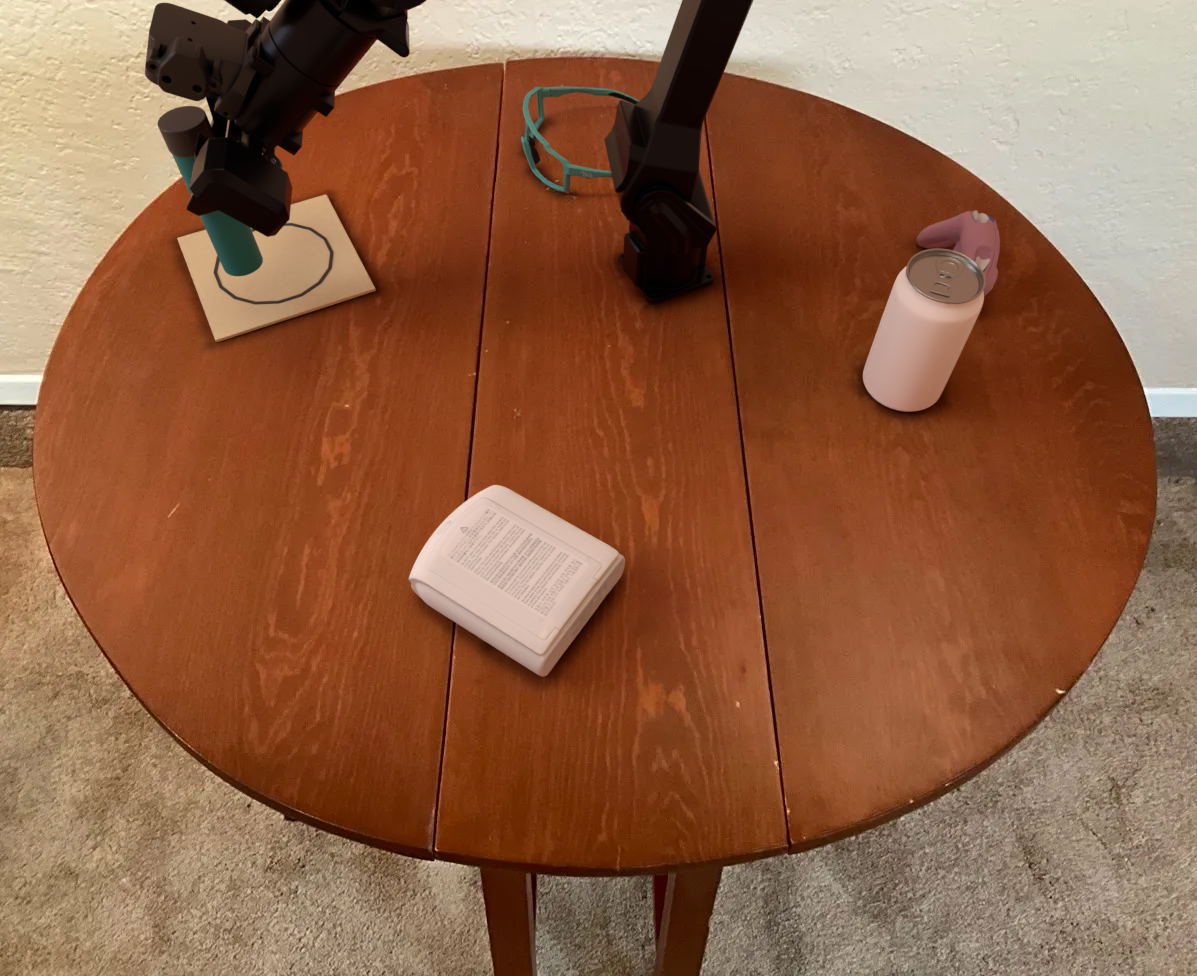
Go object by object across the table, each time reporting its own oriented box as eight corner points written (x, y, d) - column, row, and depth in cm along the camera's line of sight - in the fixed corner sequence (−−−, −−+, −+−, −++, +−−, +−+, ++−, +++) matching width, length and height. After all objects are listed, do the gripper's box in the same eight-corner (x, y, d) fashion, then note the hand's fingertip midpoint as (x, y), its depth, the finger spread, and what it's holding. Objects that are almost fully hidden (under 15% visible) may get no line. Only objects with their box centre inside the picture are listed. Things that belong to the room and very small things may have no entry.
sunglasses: (506, 119, 98) (508, 73, 94) (646, 112, 102) (653, 68, 98) (534, 207, 91) (537, 162, 87) (684, 197, 94) (694, 153, 90)
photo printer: (626, 575, 69) (486, 497, 72) (628, 543, 65) (481, 463, 69) (544, 689, 64) (398, 599, 67) (541, 662, 60) (388, 568, 64)
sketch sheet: (326, 196, 91) (326, 193, 91) (375, 290, 84) (375, 287, 84) (178, 240, 88) (176, 237, 88) (216, 342, 81) (215, 339, 81)
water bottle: (265, 272, 78) (206, 126, 68) (223, 281, 78) (156, 135, 67) (263, 246, 80) (205, 101, 70) (221, 255, 80) (157, 110, 69)
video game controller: (950, 334, 84) (1013, 286, 79) (909, 310, 83) (970, 260, 78) (950, 258, 90) (1009, 208, 84) (911, 234, 89) (969, 182, 83)
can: (949, 370, 80) (1000, 260, 70) (930, 425, 77) (981, 318, 67) (873, 345, 81) (913, 234, 72) (851, 398, 78) (889, 289, 68)
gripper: (207, -100, 65) (107, 61, 74) (173, 57, 55) (60, 224, 63) (349, 6, 73) (242, 143, 81) (342, 163, 62) (221, 301, 70)
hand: (195, 196), depth 74 cm, fingers closed on water bottle, 3 cm apart
